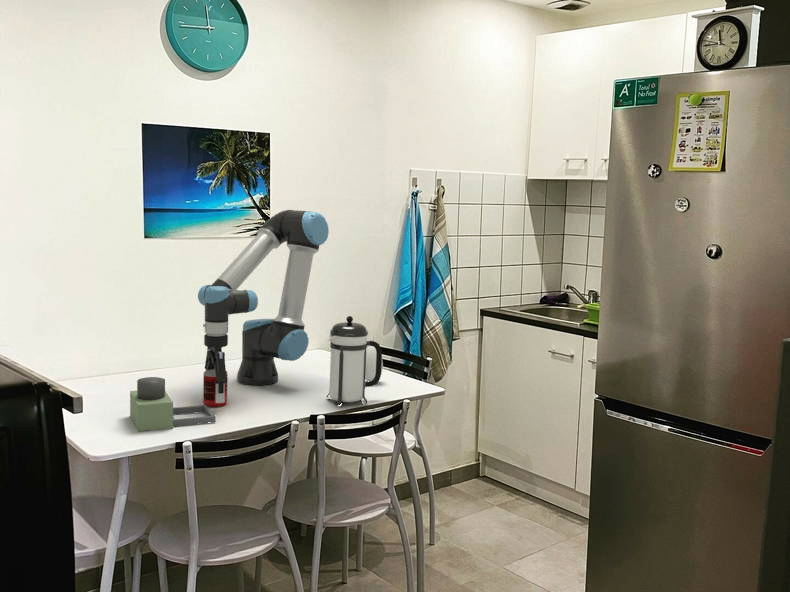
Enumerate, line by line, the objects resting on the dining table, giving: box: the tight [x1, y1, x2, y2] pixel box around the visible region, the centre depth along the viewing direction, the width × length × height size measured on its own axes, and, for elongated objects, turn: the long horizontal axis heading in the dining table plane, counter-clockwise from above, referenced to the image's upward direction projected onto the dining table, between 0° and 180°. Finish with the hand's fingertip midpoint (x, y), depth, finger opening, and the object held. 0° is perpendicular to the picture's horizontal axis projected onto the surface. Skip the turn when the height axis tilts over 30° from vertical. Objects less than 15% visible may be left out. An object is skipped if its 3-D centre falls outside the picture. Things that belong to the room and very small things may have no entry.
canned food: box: [202, 369, 228, 408], centre depth 255 cm, size 8×8×11 cm
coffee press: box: [325, 315, 383, 406], centre depth 264 cm, size 17×16×30 cm
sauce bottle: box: [365, 336, 384, 382], centre depth 291 cm, size 8×8×18 cm
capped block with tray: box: [129, 376, 217, 432], centre depth 236 cm, size 23×16×13 cm
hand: (215, 397), depth 255 cm, fingers open, 13 cm apart
